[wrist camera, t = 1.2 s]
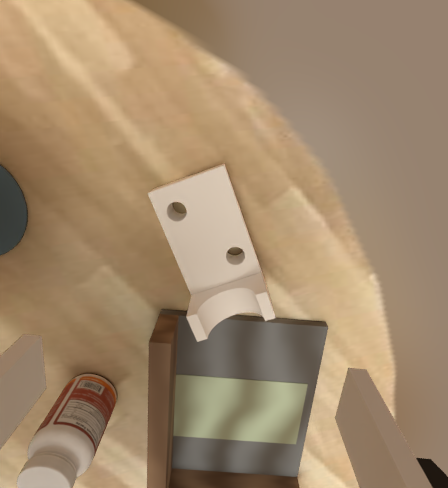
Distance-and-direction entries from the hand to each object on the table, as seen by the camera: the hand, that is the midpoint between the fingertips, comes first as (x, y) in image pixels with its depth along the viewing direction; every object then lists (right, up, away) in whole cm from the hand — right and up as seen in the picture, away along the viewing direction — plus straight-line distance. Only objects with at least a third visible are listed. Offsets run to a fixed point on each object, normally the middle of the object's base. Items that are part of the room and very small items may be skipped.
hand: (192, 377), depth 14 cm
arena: (+2, -13, +25) cm, 29 cm away
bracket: (0, +7, +19) cm, 20 cm away
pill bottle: (-14, -12, +25) cm, 31 cm away
